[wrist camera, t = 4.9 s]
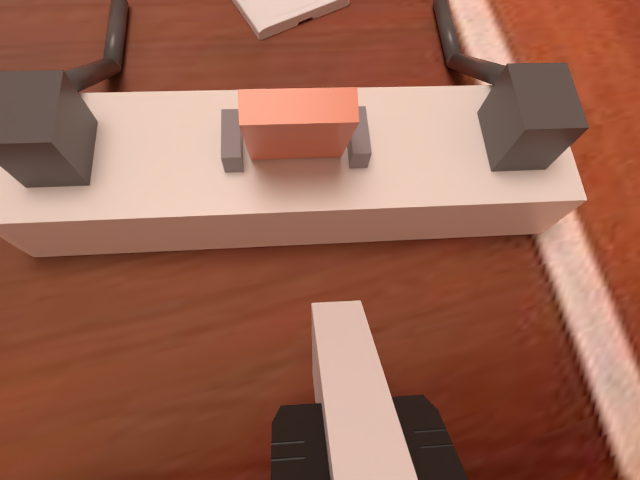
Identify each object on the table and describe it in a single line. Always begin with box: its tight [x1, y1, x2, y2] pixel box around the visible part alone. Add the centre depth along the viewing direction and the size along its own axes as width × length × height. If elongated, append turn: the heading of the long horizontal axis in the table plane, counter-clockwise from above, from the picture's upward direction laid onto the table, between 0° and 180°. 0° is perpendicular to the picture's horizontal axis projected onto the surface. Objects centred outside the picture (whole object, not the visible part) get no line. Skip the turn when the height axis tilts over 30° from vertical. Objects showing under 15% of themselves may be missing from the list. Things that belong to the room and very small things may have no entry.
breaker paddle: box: [238, 87, 359, 160], centre depth 22 cm, size 2×5×6 cm, turn 93°
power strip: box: [0, 0, 589, 257], centre depth 28 cm, size 21×32×9 cm, turn 94°
